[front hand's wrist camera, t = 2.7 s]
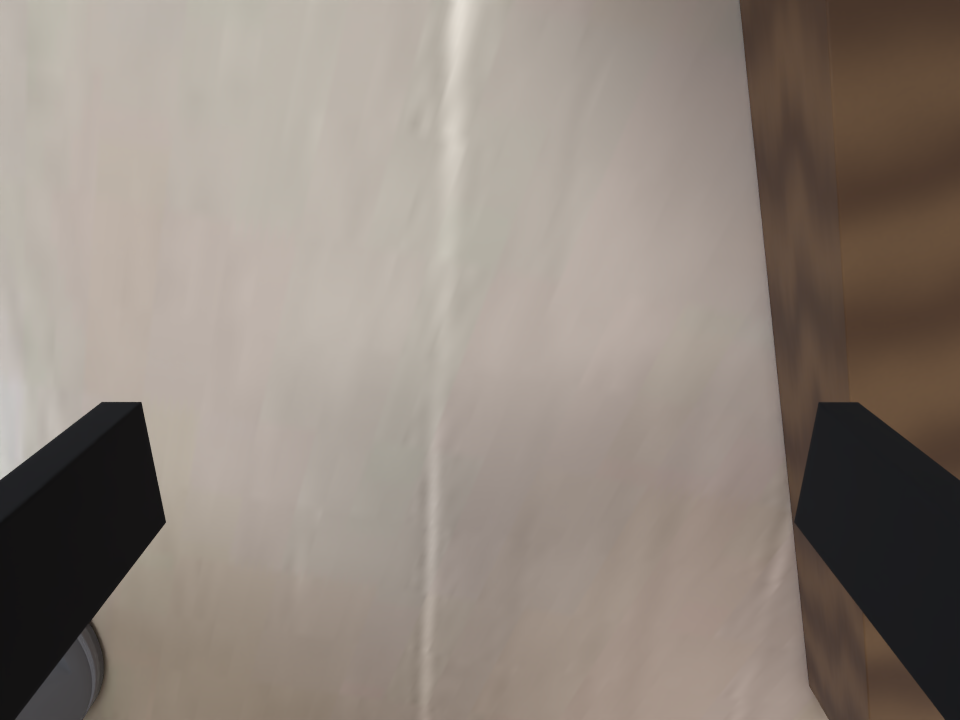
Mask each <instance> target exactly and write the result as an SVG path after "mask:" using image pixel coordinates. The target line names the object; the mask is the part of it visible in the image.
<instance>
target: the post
mask: <svg viewBox="0 0 960 720" xmlns="http://www.w3.org/2000/svg"><path fill="white" fill-rule="evenodd" d="M740 9H741V19H742V29H743V38H744V48H745V58H746V68H747V78H748V88H749V97H750V107H751V117H752V127H753V137H754V146H755V156H756V166H757V176H758V186H759V196H760V205H761V215H762V225H763V235H764V245H765V254H766V264H767V274H768V284H769V294H770V304H771V313H772V323H773V333H774V343H775V353H776V362H777V372H778V382H779V392H780V402H781V411H782V421H783V431H784V441H785V451H786V461H787V470H788V480H789V490H790V500H791V510H792V519H793V529H794V539H795V549H796V559H797V569H798V578H799V588H800V598H801V608H802V618H803V627H804V637H805V647H806V657H807V667H808V677H809V686H810V688H811V690H812V691H813V693H814V695H815V697H816V698H817V700H818V702H819V703H820V705H821V707H822V709H823V710H824V712H825V714H826V715H827V717H828V719H829V720H945V719H944V718H943V716H942V715H941V714H940V713H939V711H938V710H937V709H936V707H935V706H934V705H933V703H932V702H931V701H930V699H929V698H928V697H927V696H926V694H925V693H924V692H923V690H922V689H921V688H920V686H919V685H918V684H917V682H916V681H915V680H914V679H913V677H912V676H911V675H910V673H909V672H908V671H907V669H906V668H905V667H904V665H903V664H902V663H901V662H900V660H899V659H898V658H897V656H896V655H895V654H894V652H893V651H892V650H891V648H890V647H889V646H888V645H887V643H886V642H885V641H884V639H883V638H882V637H881V635H880V634H879V633H878V631H877V630H876V629H875V628H874V626H873V625H872V624H871V622H870V621H869V620H868V618H867V617H866V616H865V614H864V613H863V612H862V611H861V609H860V608H859V607H858V605H857V604H856V603H855V601H854V600H853V599H852V597H851V596H850V595H849V594H848V592H847V591H846V590H845V588H844V587H843V586H842V584H841V583H840V582H839V580H838V579H837V578H836V577H835V575H834V574H833V573H832V571H831V570H830V569H829V567H828V566H827V565H826V563H825V562H824V561H823V560H822V558H821V557H820V556H819V554H818V553H817V552H816V550H815V549H814V548H813V546H812V545H811V544H810V543H809V541H808V540H807V539H806V537H805V536H804V535H803V533H802V532H801V531H800V529H799V528H798V527H797V526H796V524H795V523H794V520H795V515H796V510H797V506H798V501H799V496H800V491H801V486H802V481H803V476H804V471H805V466H806V461H807V457H808V452H809V447H810V442H811V437H812V432H813V427H814V422H815V417H816V412H817V408H818V403H819V402H859V403H860V404H861V405H862V406H864V407H865V408H866V409H868V410H869V411H870V412H872V413H873V414H874V415H876V416H877V417H878V418H879V419H881V420H882V421H883V422H885V423H886V424H887V425H889V426H890V427H891V428H892V429H894V430H895V431H896V432H898V433H899V434H900V435H902V436H903V437H904V438H905V439H907V440H908V441H909V442H911V443H912V444H913V445H915V446H916V447H917V448H918V449H920V450H921V451H922V452H924V453H925V454H926V455H928V456H929V457H930V458H931V459H933V460H934V461H935V462H937V463H938V464H939V465H941V466H942V467H943V468H944V469H946V470H947V471H948V472H950V473H951V474H952V475H954V476H955V477H956V478H958V479H959V480H960V0H740Z"/></svg>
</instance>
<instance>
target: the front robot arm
mask: <svg viewBox="0 0 960 720" xmlns="http://www.w3.org/2000/svg"><path fill="white" fill-rule="evenodd" d="M165 523H166V520H165V515H164V510H163V506H162V501H161V496H160V491H159V486H158V481H157V476H156V471H155V466H154V461H153V457H152V452H151V447H150V442H149V437H148V432H147V427H146V422H145V417H144V412H143V408H142V403H141V402H101V403H100V404H99V405H98V406H96V407H95V408H94V409H92V410H91V411H90V412H88V413H87V414H86V415H84V416H83V417H82V418H81V419H79V420H78V421H77V422H75V423H74V424H73V425H71V426H70V427H69V428H68V429H66V430H65V431H64V432H62V433H61V434H60V435H58V436H57V437H56V438H55V439H53V440H52V441H51V442H49V443H48V444H47V445H45V446H44V447H43V448H42V449H40V450H39V451H38V452H36V453H35V454H34V455H32V456H31V457H30V458H29V459H27V460H26V461H25V462H23V463H22V464H21V465H19V466H18V467H17V468H16V469H14V470H13V471H12V472H10V473H9V474H8V475H6V476H5V477H4V478H2V479H1V480H0V720H82V719H83V718H84V716H85V715H86V713H87V712H88V710H89V709H90V707H91V706H92V704H93V703H94V701H95V700H96V698H97V696H98V694H99V691H100V688H101V685H102V681H103V675H104V663H103V655H102V651H101V647H100V644H99V641H98V639H97V637H96V634H95V632H94V630H93V628H92V627H91V625H90V624H89V622H90V621H91V620H92V618H93V617H94V616H95V614H96V613H97V612H98V611H99V609H100V608H101V607H102V605H103V604H104V603H105V601H106V600H107V599H108V597H109V596H110V595H111V594H112V592H113V591H114V590H115V588H116V587H117V586H118V584H119V583H120V582H121V580H122V579H123V578H124V577H125V575H126V574H127V573H128V571H129V570H130V569H131V567H132V566H133V565H134V563H135V562H136V561H137V560H138V558H139V557H140V556H141V554H142V553H143V552H144V550H145V549H146V548H147V546H148V545H149V544H150V543H151V541H152V540H153V539H154V537H155V536H156V535H157V533H158V532H159V531H160V529H161V528H162V527H163V526H164V524H165ZM794 523H795V524H796V526H797V527H798V528H799V529H800V531H801V532H802V533H803V535H804V536H805V537H806V539H807V540H808V541H809V543H810V544H811V545H812V546H813V548H814V549H815V550H816V552H817V553H818V554H819V556H820V557H821V558H822V560H823V561H824V562H825V563H826V565H827V566H828V567H829V569H830V570H831V571H832V573H833V574H834V575H835V577H836V578H837V579H838V580H839V582H840V583H841V584H842V586H843V587H844V588H845V590H846V591H847V592H848V594H849V595H850V596H851V597H852V599H853V600H854V601H855V603H856V604H857V605H858V607H859V608H860V609H861V611H862V612H863V613H864V614H865V616H866V617H867V618H868V620H869V621H870V622H871V624H872V625H873V626H874V628H875V629H876V630H877V631H878V633H879V634H880V635H881V637H882V638H883V639H884V641H885V642H886V643H887V645H888V646H889V647H890V648H891V650H892V651H893V652H894V654H895V655H896V656H897V658H898V659H899V660H900V662H901V663H902V664H903V665H904V667H905V668H906V669H907V671H908V672H909V673H910V675H911V676H912V677H913V679H914V680H915V681H916V682H917V684H918V685H919V686H920V688H921V689H922V690H923V692H924V693H925V694H926V696H927V697H928V698H929V699H930V701H931V702H932V703H933V705H934V706H935V707H936V709H937V710H938V711H939V713H940V714H941V715H942V716H943V718H944V719H945V720H960V480H959V479H958V478H956V477H955V476H954V475H952V474H951V473H950V472H948V471H947V470H946V469H944V468H943V467H942V466H941V465H939V464H938V463H937V462H935V461H934V460H933V459H931V458H930V457H929V456H928V455H926V454H925V453H924V452H922V451H921V450H920V449H918V448H917V447H916V446H915V445H913V444H912V443H911V442H909V441H908V440H907V439H905V438H904V437H903V436H902V435H900V434H899V433H898V432H896V431H895V430H894V429H892V428H891V427H890V426H889V425H887V424H886V423H885V422H883V421H882V420H881V419H879V418H878V417H877V416H876V415H874V414H873V413H872V412H870V411H869V410H868V409H866V408H865V407H864V406H862V405H861V404H860V403H859V402H819V403H818V408H817V412H816V417H815V422H814V427H813V432H812V437H811V442H810V447H809V452H808V457H807V461H806V466H805V471H804V476H803V481H802V486H801V491H800V496H799V501H798V506H797V510H796V515H795V520H794Z"/></svg>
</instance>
